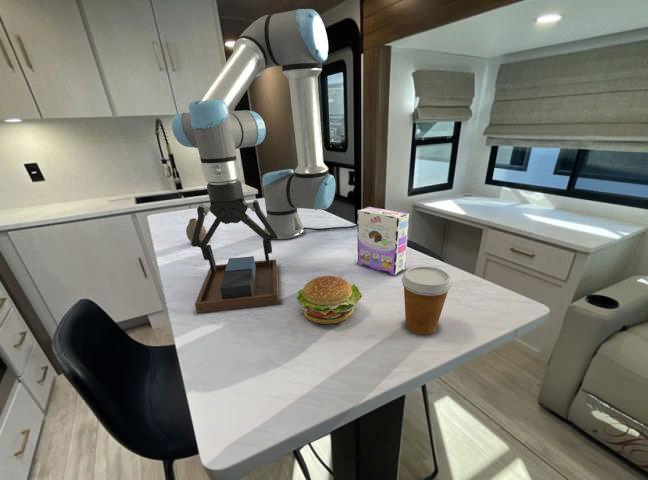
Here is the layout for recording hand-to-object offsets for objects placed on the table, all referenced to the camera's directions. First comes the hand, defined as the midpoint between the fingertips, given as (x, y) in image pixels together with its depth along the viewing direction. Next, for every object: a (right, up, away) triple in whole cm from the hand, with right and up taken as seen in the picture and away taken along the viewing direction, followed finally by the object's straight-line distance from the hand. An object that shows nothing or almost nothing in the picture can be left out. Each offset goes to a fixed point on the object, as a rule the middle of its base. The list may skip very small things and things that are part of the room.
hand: (241, 267), depth 82 cm
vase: (-27, +13, +37) cm, 48 cm away
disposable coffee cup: (+42, -14, -15) cm, 47 cm away
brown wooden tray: (-1, -5, +4) cm, 6 cm away
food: (+23, -11, -8) cm, 27 cm away
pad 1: (-2, -2, +8) cm, 8 cm away
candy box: (+38, +2, +13) cm, 40 cm away
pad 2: (0, -6, -1) cm, 6 cm away
